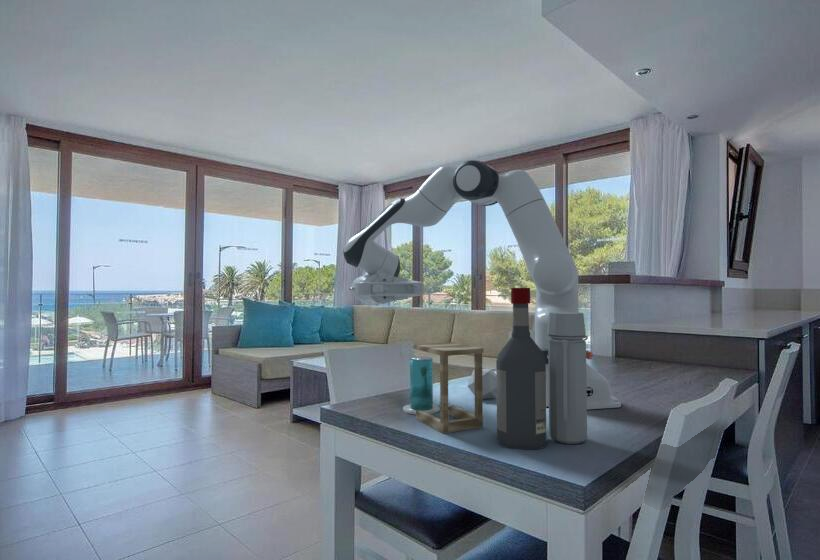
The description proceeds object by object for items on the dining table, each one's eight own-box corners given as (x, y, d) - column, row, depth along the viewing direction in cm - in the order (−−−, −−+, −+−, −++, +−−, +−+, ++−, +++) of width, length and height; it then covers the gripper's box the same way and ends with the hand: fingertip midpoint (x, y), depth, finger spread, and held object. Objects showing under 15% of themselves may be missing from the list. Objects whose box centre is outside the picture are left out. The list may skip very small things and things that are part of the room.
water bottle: (549, 431, 98) (548, 311, 98) (589, 436, 95) (588, 312, 95) (543, 445, 89) (542, 313, 90) (588, 451, 86) (586, 314, 87)
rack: (414, 418, 108) (414, 344, 108) (451, 413, 113) (451, 342, 113) (444, 434, 96) (443, 351, 97) (484, 427, 101) (483, 348, 101)
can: (431, 404, 119) (431, 356, 119) (433, 410, 113) (433, 359, 113) (409, 404, 118) (409, 356, 119) (410, 410, 113) (410, 359, 113)
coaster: (437, 405, 120) (437, 402, 120) (441, 414, 111) (441, 412, 111) (402, 405, 120) (402, 403, 120) (403, 415, 111) (403, 412, 111)
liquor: (496, 447, 88) (494, 288, 89) (500, 433, 97) (498, 288, 98) (546, 451, 86) (544, 287, 86) (545, 436, 95) (544, 287, 95)
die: (496, 405, 123) (510, 373, 127) (468, 389, 123) (482, 357, 127) (486, 409, 130) (499, 378, 134) (459, 394, 130) (473, 364, 134)
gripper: (346, 277, 134) (364, 276, 121) (410, 278, 143) (433, 277, 131) (346, 299, 134) (364, 301, 121) (410, 299, 143) (433, 299, 131)
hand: (400, 288), depth 126 cm, fingers open, 8 cm apart
